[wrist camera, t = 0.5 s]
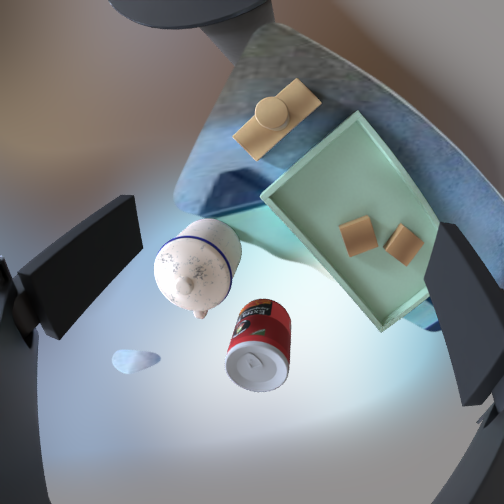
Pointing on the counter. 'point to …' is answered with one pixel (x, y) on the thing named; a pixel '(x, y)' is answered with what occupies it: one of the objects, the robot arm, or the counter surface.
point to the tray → (355, 206)
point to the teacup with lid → (198, 266)
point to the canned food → (260, 347)
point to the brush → (276, 118)
